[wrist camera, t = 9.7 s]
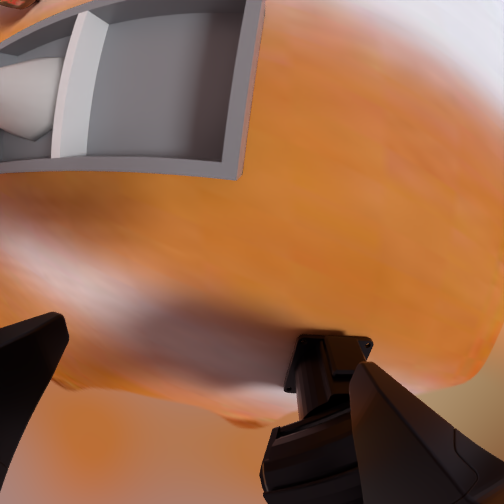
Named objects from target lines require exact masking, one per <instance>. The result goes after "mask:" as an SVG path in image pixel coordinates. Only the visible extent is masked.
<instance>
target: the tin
mask: <svg viewBox="0 0 504 504" xmlns="http://www.w3.org/2000/svg"><path fill="white" fill-rule="evenodd" d="M35 1H36V0H0V5H3V6H6V7H10V8H16V9H24V8H27V7H29V6H30V5H31V4H32V3H34V2H35Z"/></svg>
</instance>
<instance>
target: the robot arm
mask: <svg viewBox="0 0 504 504" xmlns="http://www.w3.org/2000/svg"><path fill="white" fill-rule="evenodd" d="M302 340H306V341H305V342H301V341H302ZM68 342H69V333H68V330H67V326H66V322H65V318H64V316H63V315H62V314H59V313H56V312H49V313H46V314H43V315H40V316H37V317H34V318H31V319H28V320H24V321H21V322H18V323H15V324H12V325H9V326H6V327H3V328H0V491H1V488H2V485H3V482H4V479H5V476H6V473H7V471H8V468H9V465H10V463H11V460H12V458H13V455H14V453H15V451H16V448H17V446H18V443H19V441H20V439H21V437H22V435H23V433H24V430H25V428H26V426H27V424H28V422H29V420H30V418H31V416H32V414H33V412H34V410H35V408H36V406H37V404H38V402H39V400H40V398H41V397H42V395H43V393H44V391H45V389H46V387H47V386H48V384H49V382H50V380H51V378H52V376H53V374H54V372H55V370H56V367H57V365H58V363H59V361H60V359H61V357H62V354H63V352H64V350H65V348H66V346H67V344H68ZM368 343H369V344H368ZM366 344H368V345H366ZM372 347H373V341H372V339H370V338H356V337H343V336H321V335H307V334H302V335H300V336H299V337H298V338H297V341H296V344H295V348H294V352H293V355H292V359H291V362H290V366H289V369H288V372H287V376H286V379H285V382H284V386H283V387H284V391H285V392H287V393H296V394H297V403H298V413H299V421H297V422H294V423H292V424H289V425H286V426H283V427H280V426H279V427H276V428H273V429H272V432H271V436H270V439H269V442H268V445H267V449H266V452H265V455H264V459H263V461H262V465H261V469H260V475H259V476H260V479H261V484H262V488H263V490H264V493H263V497H264V498H265V500H266V502H267V503H268V504H504V462H503V461H502V460H500V459H499V458H497V457H496V456H494V455H492V454H491V453H489V452H487V451H486V450H484V449H483V448H481V447H480V446H478V445H477V444H475V443H474V442H473V441H471V440H470V439H469V438H467V437H466V436H465V435H463V434H462V433H461V432H460V431H458V430H457V429H454V427H453V426H452V425H451V424H450V423H448V422H447V421H446V420H445V419H443V418H442V417H440V415H438V414H437V413H436V412H435V411H433V410H432V409H431V408H430V407H428V406H427V405H426V404H425V403H423V402H422V401H421V400H420V399H418V398H417V397H416V396H415V395H413V394H412V393H411V392H410V391H408V390H407V389H406V388H405V387H403V386H402V385H401V384H400V383H399V382H397V381H396V380H395V379H394V378H392V377H391V376H390V375H389V374H387V373H386V372H385V371H384V370H382V369H381V368H380V367H379V366H378V365H376V364H375V363H374V362H367V361H366V360H367V358H368V356H369V354H370V352H371V349H372ZM288 387H290V388H288Z"/></svg>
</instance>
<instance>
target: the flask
mask: <svg viewBox="0 0 504 504" xmlns="http://www.w3.org/2000/svg"><path fill="white" fill-rule="evenodd" d="M64 60H65V57H42V58H36V59H32V60H28V61H24V62H20V63H16V64H12V65H8V66H4V67H0V128H1V129H3V130H5V131H7V132H9V133H11V134H13V135H15V136H17V137H21V138H24V139H28V140H31V141H34V142H35V141H37V140H38V139H39V138H41V137H42V136H43V135H45V134H46V133H47V132H49V131H50V130H51V129H53V124H54V115H55V108H56V101H57V95H58V89H59V83H60V78H61V73H62V69H63V64H64Z"/></svg>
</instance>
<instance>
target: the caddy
mask: <svg viewBox="0 0 504 504" xmlns="http://www.w3.org/2000/svg"><path fill="white" fill-rule="evenodd" d="M264 17H265V0H94V1H91V2H88V3H85V4H82V5H79V6H76V7H73V8H71V9H68V10H65V11H63V12H60V13H58V14H56V15H53V16H51V17H49V18H46V19H44V20H42V21H40V22H38V23H36V24H34V25H32V26H30V27H28V28H26V29H24V30H22V31H20V32H18V33H16V34H15V35H13V36H11V37H9V38H8V39H6V40H4V41H2V42H1V43H0V67H4V66H8V65H12V64H16V63H20V62H24V61H28V60H32V59H36V58H42V57H65V60H64V64H63V69H62V73H61V78H60V83H59V89H58V95H57V101H56V108H55V115H54V124H53V129H51V130H50V131H49V132H47V133H46V134H45V135H43V136H42V137H41V138H39V139H38V140H37V141H35V142H34V141H31V140H28V139H24V138H21V137H17V136H15V135H13V134H11V133H9V132H7V131H5V130H3V129H1V128H0V174H1V173H16V172H38V171H117V172H141V173H158V174H173V175H186V176H197V177H208V178H218V179H227V180H237V179H238V178H239V177H240V176H241V175H242V173H243V165H244V157H245V149H246V142H247V134H248V126H249V119H250V112H251V104H252V97H253V90H254V83H255V76H256V69H257V62H258V55H259V49H260V42H261V36H262V29H263V23H264Z"/></svg>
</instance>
